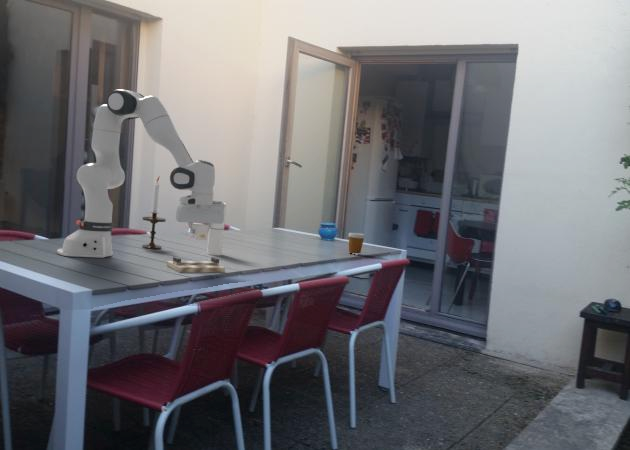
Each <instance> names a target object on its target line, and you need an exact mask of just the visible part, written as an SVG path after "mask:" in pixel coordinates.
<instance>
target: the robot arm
mask: <svg viewBox="0 0 630 450" xmlns="http://www.w3.org/2000/svg"><path fill="white" fill-rule="evenodd" d="M105 101H106V104H105V103H104V104H102V105H100V106H98V108H97V111H96V114H95V117H94V121H93V127H92V137H91V138H92V139H91V144H90V145H91V149H92V151H93V152H94V156H95V160H96V161H95V162H89V163H85V164H83V165H81V166H80V167H79V168H78V170H77V171H76V180H77V181H78V183H79V185H80V187H81V189H82V191H83V195H84V199H85V200H84V201H85V206H84V207H85V209H84V220H82V221H81V220H77V221H76V222H75V223H76V225H77V226H78V229H77V230H75V231H74V232H73V233H71V234H69V235H67V236H66V237H65V238H64V240H63V243H62V244H63V245H62V248H58V249H57V251H56V253H57V254H58V255H61V256H63V257H64V256H65V257H75V258H76V257H78V258H81V257H82V258H83V257H84V258H105V257H111V256H113V255H114V254H113V253H114V252H113V248H112V234H113V222H112V220H113V219H112V218H113V207H114V204H113V202H112V201H111V200H110V196H109V191H108V190H112V189H116V188H119V187H120V186H122V185H123V184H124V182H125V180H126V175H125V171H124V169H123V168H122V165H121V161H120V150H119V149H120V139H121V132H122V131H121V130H122V123H123V121H124V120H125V119H126V120H128V121H129V120H133V119H138V118H139V119H140V120H141V122H142V124H143V126H144V129H145V131H146V133H147V135H148V136H149V137H150V139H151V140H152V141H153V142H154V143H155V144H158V145H159V146H162V147H163V148H165V149H166V150H168V151H169V153H170V154H171V155H172V157H173V159H174V160H175V162H176V164H177V166H178V167H175V168H174V169H172V171H171V173H170V175H169V181H170V184H171V186H172V187H173V188H175V189H177V190H179V191H191V194H190V195H186V196H181V197H180V198H179V200H178V201H179V204H178V206H177V209H176V213H175V214H176V215H175V219H176V221H177V222H179V223H187V225H188V228H189V233H193V234H194V233H195V229H193V227H192V225H193V223H201V224H205V225H208V226H209V227H208V231H209V229H210V227H211V225H212V223H218V224H222V223H223V222H224V207H225V205H224V203H225V202H222V201H220V200H219V201H217V200H214V186H215V180H216V179H215V178H216V173H215V172H216V169H215V166H214V164H213V163H212V162H209V161H206V160H202V159H201V160H200V159H198V160H195V161H194V160H193V159H192V157H191V155H190V153H189V151H188V150H187V148H186V146H185V145H184V143H183V141H182V140H181V138H180V135H179V134H178V132H177V130H176V127H175V125H174V123H173V122H172V119H171V117H170V115H169V113H168V111H167V109H166V108H165V106H164V104H163V103H162V102H161V100H160V99H159V98H158V97H156V96H154V95H148V96H144V95H143V94H142V93H139V92H136V91H132V90H127V89H123V88H122V89H114V90H112V91H111V92H109V93H108V95H107V97H106V100H105Z"/></svg>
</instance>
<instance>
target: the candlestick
mask: <svg viewBox="0 0 630 450" xmlns="http://www.w3.org/2000/svg"><path fill="white" fill-rule="evenodd" d="M159 179H160V175H159V176H158V177H157V179H156V183H155V185H154V195H153V205H152V211H151V212H150V213H151V214H152V215H151V216H142V220H143V221H146V222H150V223H151V231H149V233H150V237H149V239H150V242H149V243H148V244H142V245H141V248H142V249H147V250H162V246H161V245H157V244H155V241H154V240H155V238H156V237H155V235H156V233H157V232H156V230H155V229H156V224H158V223H165V222H166V221H167V219H166V218H164V217H158V216H157V215H158V202H159V201H158V200H159V191H160V190H159V189H160V185H159Z"/></svg>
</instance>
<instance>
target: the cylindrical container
mask: <svg viewBox="0 0 630 450" xmlns="http://www.w3.org/2000/svg"><path fill="white" fill-rule="evenodd" d="M223 203H224V205H225V207H224V222H223V223H222V224H218V223H212V225H211V227H210V229H209V230H208V238H207V246H206V247H207V249H206V254H207V255H209V254H210V256H222V254H223V243H224V233H225V222H226V213H227V203H226V202H223Z"/></svg>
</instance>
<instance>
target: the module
mask: <svg viewBox="0 0 630 450" xmlns="http://www.w3.org/2000/svg"><path fill="white" fill-rule="evenodd" d="M192 227H193V229H195V233H194V234H193V233H190V232H189V233H190V234H189V235H190V236H189V237H190V238H191V239H192V238H195V240H196V241H197V240H198V241H208V235H209V230H208V227H209V226H208V225H206V223H193V225H192Z"/></svg>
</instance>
